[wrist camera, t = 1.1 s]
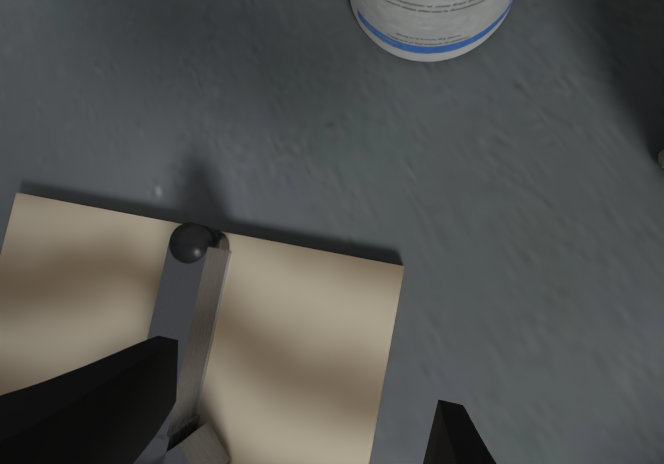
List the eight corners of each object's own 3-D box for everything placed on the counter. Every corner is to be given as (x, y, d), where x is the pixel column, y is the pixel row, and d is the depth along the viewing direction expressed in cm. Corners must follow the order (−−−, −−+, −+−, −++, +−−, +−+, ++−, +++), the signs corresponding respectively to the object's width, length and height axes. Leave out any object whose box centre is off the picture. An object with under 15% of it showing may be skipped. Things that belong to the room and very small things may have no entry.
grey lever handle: (213, 560, 24) (183, 609, 20) (92, 525, 25) (44, 565, 21) (278, 242, 25) (261, 235, 22) (162, 219, 26) (127, 210, 23)
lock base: (321, 720, 24) (297, 885, 17) (-71, 588, 27) (-214, 684, 20) (403, 266, 26) (409, 262, 19) (29, 195, 29) (-74, 171, 22)
